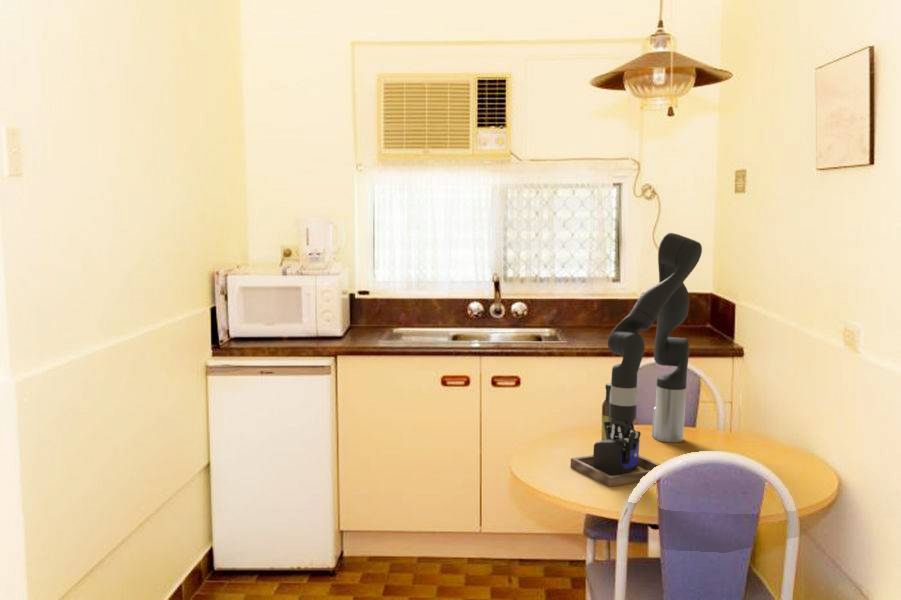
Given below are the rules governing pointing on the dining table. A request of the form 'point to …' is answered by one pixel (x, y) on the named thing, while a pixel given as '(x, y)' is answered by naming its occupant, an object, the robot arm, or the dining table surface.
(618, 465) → the black two-tone rounded block
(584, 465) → the walnut tray
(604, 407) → the sauce bottle
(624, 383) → the robot arm
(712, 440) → the dining table surface
